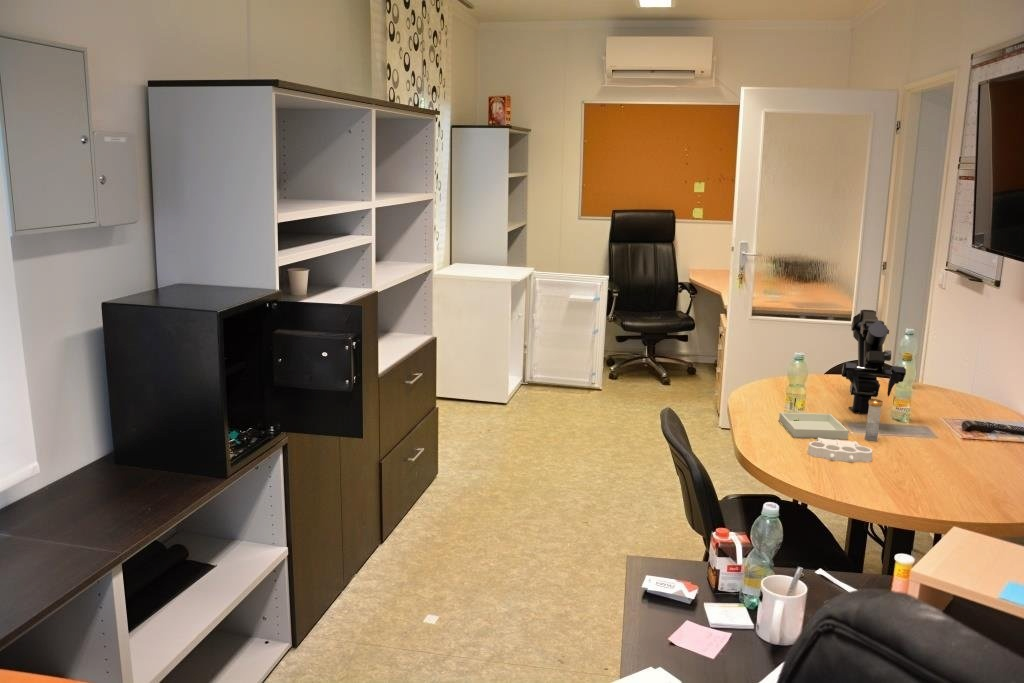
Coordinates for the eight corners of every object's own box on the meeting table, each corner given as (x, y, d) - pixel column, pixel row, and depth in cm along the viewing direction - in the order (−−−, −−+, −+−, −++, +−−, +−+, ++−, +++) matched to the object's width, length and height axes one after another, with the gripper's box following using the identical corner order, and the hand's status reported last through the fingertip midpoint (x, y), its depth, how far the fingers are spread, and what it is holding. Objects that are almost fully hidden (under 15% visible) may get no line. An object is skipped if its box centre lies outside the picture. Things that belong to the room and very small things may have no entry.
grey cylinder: (862, 437, 261) (866, 398, 258) (874, 437, 261) (879, 399, 258) (867, 441, 257) (871, 402, 254) (879, 442, 257) (884, 402, 254)
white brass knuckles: (866, 450, 251) (874, 467, 237) (805, 444, 255) (809, 460, 241) (868, 440, 250) (875, 456, 236) (806, 434, 254) (810, 450, 240)
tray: (779, 420, 276) (779, 412, 275) (829, 422, 275) (830, 413, 275) (793, 438, 259) (794, 429, 259) (847, 439, 259) (848, 430, 258)
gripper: (846, 338, 266) (845, 379, 259) (908, 342, 261) (909, 384, 253) (842, 355, 275) (841, 395, 268) (902, 360, 270) (902, 401, 262)
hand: (873, 394), depth 262 cm, fingers open, 9 cm apart
